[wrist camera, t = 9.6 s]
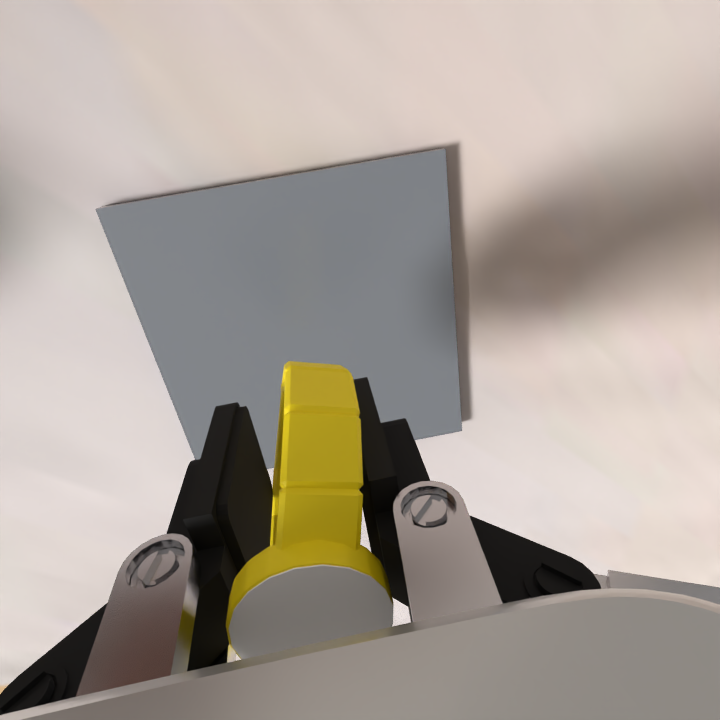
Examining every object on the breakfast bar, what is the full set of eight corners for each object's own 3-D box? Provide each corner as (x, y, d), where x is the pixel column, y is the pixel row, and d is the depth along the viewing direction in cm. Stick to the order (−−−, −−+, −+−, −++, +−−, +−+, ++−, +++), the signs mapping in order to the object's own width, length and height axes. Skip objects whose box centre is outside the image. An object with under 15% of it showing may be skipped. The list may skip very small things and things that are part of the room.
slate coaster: (440, 148, 16) (445, 148, 16) (458, 423, 22) (462, 430, 21) (102, 206, 16) (95, 208, 15) (206, 472, 21) (203, 481, 21)
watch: (258, 325, 12) (233, 462, 6) (366, 335, 12) (430, 469, 7) (246, 516, 14) (219, 744, 8) (338, 517, 14) (369, 732, 9)
